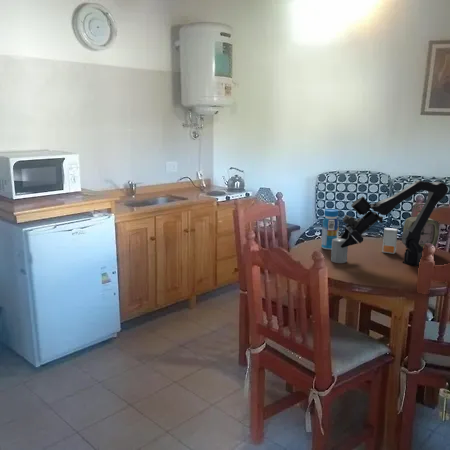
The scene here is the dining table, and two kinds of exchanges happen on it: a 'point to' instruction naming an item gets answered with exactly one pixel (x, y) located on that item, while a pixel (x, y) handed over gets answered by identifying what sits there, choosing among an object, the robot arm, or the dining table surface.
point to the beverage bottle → (329, 228)
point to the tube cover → (338, 251)
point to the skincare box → (389, 240)
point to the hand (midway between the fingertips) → (339, 244)
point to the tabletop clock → (425, 230)
